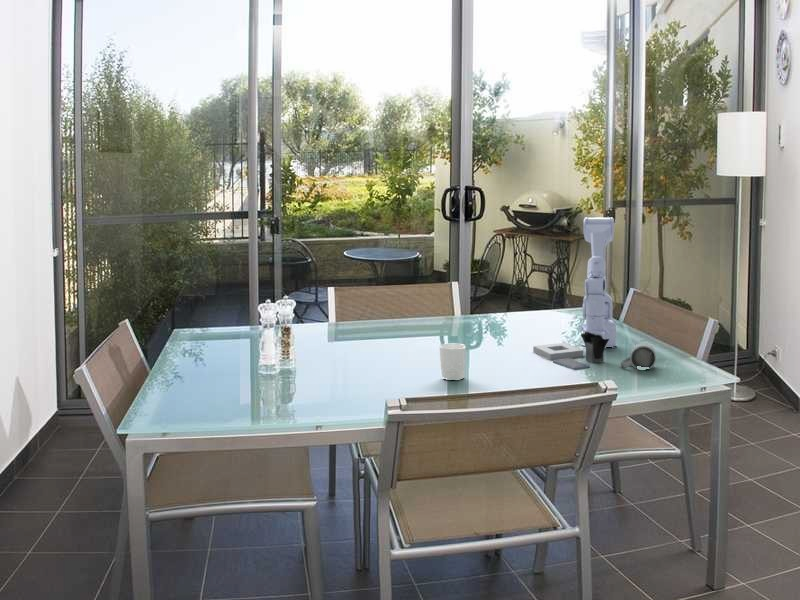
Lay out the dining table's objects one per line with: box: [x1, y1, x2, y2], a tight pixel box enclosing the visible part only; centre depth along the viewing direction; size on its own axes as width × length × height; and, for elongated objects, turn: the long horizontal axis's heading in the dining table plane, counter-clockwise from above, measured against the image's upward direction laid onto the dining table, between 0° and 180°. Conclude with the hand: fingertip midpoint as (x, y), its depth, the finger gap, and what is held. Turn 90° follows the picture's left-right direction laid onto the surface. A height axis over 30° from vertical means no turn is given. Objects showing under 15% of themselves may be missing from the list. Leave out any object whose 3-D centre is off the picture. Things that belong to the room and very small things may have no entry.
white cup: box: [439, 342, 467, 380], centre depth 282 cm, size 8×8×10 cm
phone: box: [552, 358, 590, 371], centre depth 295 cm, size 6×11×1 cm, turn 26°
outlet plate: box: [532, 342, 584, 361], centre depth 309 cm, size 12×12×2 cm
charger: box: [585, 342, 604, 364], centre depth 298 cm, size 4×4×6 cm
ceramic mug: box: [619, 342, 657, 370], centre depth 290 cm, size 11×8×8 cm
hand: (594, 356), depth 299 cm, fingers closed on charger, 4 cm apart
